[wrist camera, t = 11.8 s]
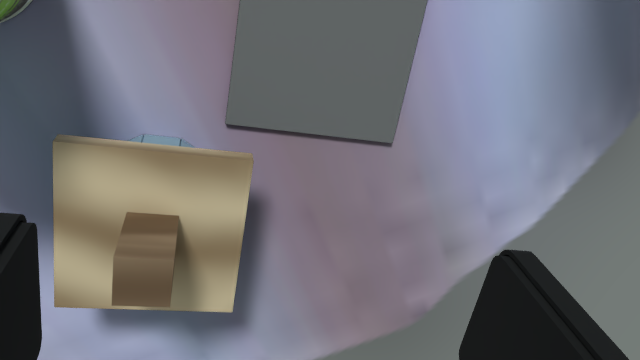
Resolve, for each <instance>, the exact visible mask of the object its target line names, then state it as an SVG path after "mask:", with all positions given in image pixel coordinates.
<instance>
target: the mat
mask: <svg viewBox="0 0 640 360" xmlns="http://www.w3.org/2000/svg"><path fill="white" fill-rule="evenodd" d="M426 4H427V0H240V4H239V12H238V21H237V29H236V37H235V46H234V54H233V62H232V71H231V79H230V87H229V96H228V104H227V112H226V121H225V124H230V125H239V126H248V127H256V128H265V129H274V130H282V131H291V132H300V133H308V134H317V135H325V136H334V137H343V138H351V139H360V140H369V141H377V142H386V143H393V138H394V134H395V130H396V126H397V122H398V118H399V114H400V110H401V106H402V102H403V98H404V94H405V90H406V86H407V81H408V77H409V73H410V69H411V65H412V61H413V57H414V53H415V49H416V45H417V41H418V37H419V33H420V28H421V24H422V20H423V16H424V12H425V8H426Z"/></svg>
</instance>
